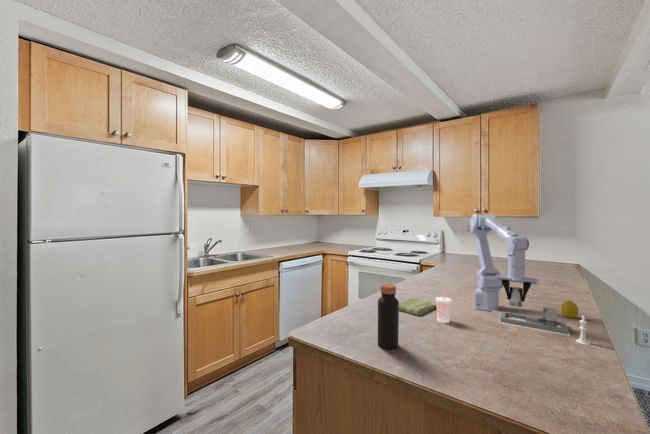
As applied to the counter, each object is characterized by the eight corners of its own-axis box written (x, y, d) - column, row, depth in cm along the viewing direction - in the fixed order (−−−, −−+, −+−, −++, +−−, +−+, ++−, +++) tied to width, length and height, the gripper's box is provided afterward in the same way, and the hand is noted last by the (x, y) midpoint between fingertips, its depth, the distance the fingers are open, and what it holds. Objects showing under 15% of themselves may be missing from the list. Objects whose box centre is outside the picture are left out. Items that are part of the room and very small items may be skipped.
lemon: (581, 322, 121) (581, 302, 121) (565, 321, 122) (566, 301, 122) (573, 317, 127) (573, 298, 127) (558, 316, 128) (558, 298, 128)
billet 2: (542, 327, 113) (543, 309, 113) (542, 323, 117) (542, 305, 117) (557, 330, 111) (557, 311, 111) (556, 326, 114) (556, 308, 114)
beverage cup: (453, 320, 122) (454, 286, 122) (447, 324, 118) (448, 289, 118) (438, 317, 127) (439, 284, 126) (432, 320, 122) (433, 286, 122)
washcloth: (438, 308, 139) (438, 301, 139) (419, 317, 127) (419, 310, 127) (413, 302, 148) (413, 295, 148) (392, 310, 136) (393, 303, 136)
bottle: (394, 351, 95) (394, 289, 95) (374, 346, 99) (374, 286, 98) (401, 343, 101) (401, 285, 100) (381, 339, 105) (382, 282, 104)
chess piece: (588, 342, 102) (588, 313, 102) (595, 349, 98) (596, 318, 97) (570, 340, 104) (571, 312, 104) (577, 346, 99) (577, 317, 99)
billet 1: (508, 305, 120) (508, 287, 120) (510, 303, 123) (510, 286, 123) (521, 307, 117) (521, 289, 117) (523, 305, 120) (523, 287, 120)
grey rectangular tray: (498, 325, 118) (498, 318, 118) (500, 315, 129) (500, 309, 128) (570, 338, 105) (570, 331, 105) (566, 327, 116) (566, 320, 116)
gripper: (494, 265, 120) (494, 299, 121) (539, 269, 112) (538, 305, 112) (496, 263, 126) (495, 295, 126) (538, 267, 118) (537, 301, 118)
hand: (515, 300), depth 120 cm, fingers closed on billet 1, 4 cm apart
